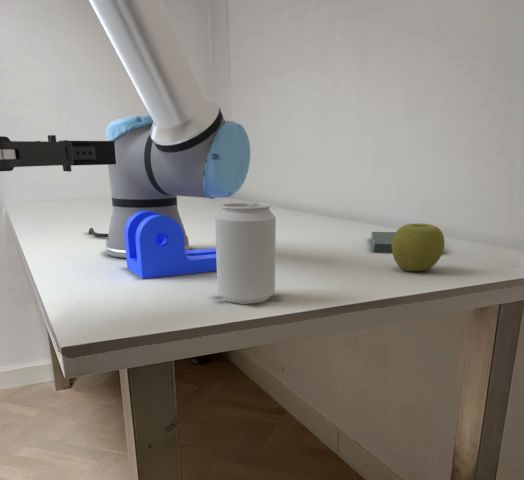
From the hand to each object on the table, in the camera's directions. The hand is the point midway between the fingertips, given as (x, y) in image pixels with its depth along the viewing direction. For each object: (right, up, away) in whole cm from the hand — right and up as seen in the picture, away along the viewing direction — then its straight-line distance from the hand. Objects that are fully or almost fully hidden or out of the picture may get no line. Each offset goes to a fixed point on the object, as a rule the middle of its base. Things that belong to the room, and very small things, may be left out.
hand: (111, 152), depth 68 cm
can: (+17, -18, +4) cm, 25 cm away
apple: (+43, -12, +20) cm, 49 cm away
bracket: (+7, -11, +22) cm, 25 cm away
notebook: (+47, -4, +42) cm, 63 cm away
